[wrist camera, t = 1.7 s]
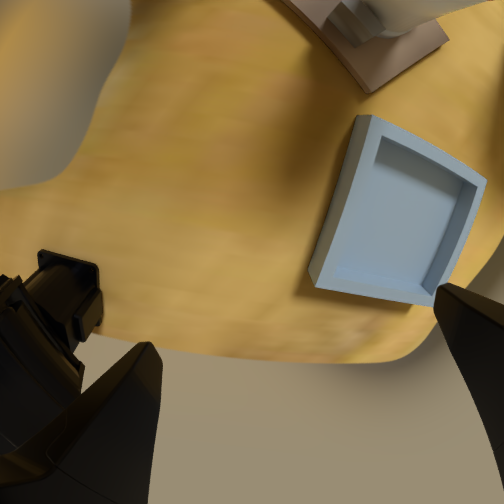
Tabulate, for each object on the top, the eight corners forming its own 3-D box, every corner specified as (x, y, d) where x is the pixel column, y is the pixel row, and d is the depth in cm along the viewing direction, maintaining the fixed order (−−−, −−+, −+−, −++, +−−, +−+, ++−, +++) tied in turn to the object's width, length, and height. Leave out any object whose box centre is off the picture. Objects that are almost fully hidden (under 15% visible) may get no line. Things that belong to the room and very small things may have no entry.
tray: (307, 269, 21) (314, 286, 19) (356, 115, 17) (372, 114, 14) (420, 292, 23) (433, 307, 21) (468, 173, 18) (487, 179, 16)
